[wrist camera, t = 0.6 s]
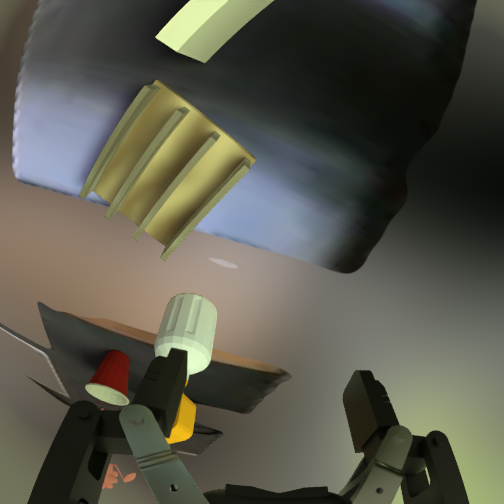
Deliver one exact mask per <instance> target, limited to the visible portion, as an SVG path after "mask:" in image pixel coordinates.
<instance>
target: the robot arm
mask: <svg viewBox="0 0 504 504" xmlns="http://www.w3.org/2000/svg"><path fill="white" fill-rule="evenodd" d="M187 365H188V351H187V350H182V349H178V348H173V347H172V348H171V349H170V351H169V354H168V356H167V357H164V356H158V357H156V358H155V359H154V360H153V361H151V363H150V365H149V367H148V369H147V372H146V374H145V376H144V378H143V380H142V382H141V384H140V386H139V389H138V391H137V393H136V395H135V397H134V399H133V401H132V403H131V404H130V405H128V406H126V407H125V408H123V409H122V410H118V411H109V410H99V409H98V407H97V406H96V405H95V404H94V403H92V402H89V401H78V402H75V403H74V404H72V405H71V407H70V408H69V410H68V412H67V414H66V416H65V418H64V420H63V422H62V424H61V426H60V428H59V430H58V433H57V434H56V436H55V438H54V441H53V443H52V445H51V447H50V449H49V452H48V454H47V456H46V458H45V461H44V463H43V465H42V468H41V470H40V472H39V475H38V477H37V480H36V482H35V485H34V487H33V490H32V493H31V495H30V498H29V501H28V503H27V504H98V500H99V497H100V493H101V490H102V486H103V483H104V480H105V476H106V473H107V470H108V467H109V463H110V460H111V457H112V454H126V455H127V454H128V455H134V457H135V459H136V461H137V464H138V466H139V468H140V470H141V472H142V474H143V476H144V478H145V480H146V482H147V483H148V486H149V487H150V489H151V491H152V493H153V495H154V497H155V499H156V500H157V502H158V504H391V503H392V501H393V499H394V497H395V495H396V492H397V490H398V488H399V486H400V485H401V490H402V495H403V500H404V504H469V500H468V497H467V493H466V490H465V487H464V483H463V481H462V477H461V474H460V471H459V468H458V465H457V462H456V460H455V457H454V454H453V451H452V448H451V446H450V443H449V441H448V438H447V437H446V435H445V434H444V433H442V432H440V431H432V432H430V433H429V434H428V435H427V436H426V437H423V436H415V435H412V434H411V432H410V431H409V430H408V429H407V428H406V427H404V426H401V425H399V422H398V420H397V417H396V414H395V412H394V409H393V407H392V404H391V403H390V399H389V397H388V395H387V392H386V390H385V387H384V386H383V385H382V384H381V383H380V382H379V381H378V380H375V379H374V376H373V374H372V372H371V371H370V370H356V371H355V372H354V373H353V375H352V377H351V379H350V381H349V383H348V385H347V387H346V388H345V390H344V393H343V403H344V407H345V412H346V415H347V420H348V424H349V428H350V432H351V436H352V441H353V445H354V449H355V453H360V452H364V457H363V458H362V460H361V461H360V463H359V465H358V467H357V468H356V470H355V472H354V473H353V475H352V476H351V478H350V480H349V481H348V483H347V484H346V485H345V487H344V488H343V489H342V490H341V491H340V493H339V494H335V493H331V492H328V487H327V486H326V487H308V488H301V489H297V490H292V491H288V492H283V493H275V492H271V491H267V490H263V489H259V488H256V487H252V486H239V485H231V484H226V486H225V489H218V490H212V491H209V492H206V493H203V494H202V492H201V491H200V489H199V488H198V486H197V485H196V483H195V482H194V480H193V479H192V478H191V476H190V474H189V473H188V471H187V470H186V468H185V467H184V465H183V463H182V462H181V460H180V458H179V457H178V455H177V454H176V453H174V452H173V451H172V449H171V448H170V446H169V444H168V442H167V441H166V439H165V438H170V435H171V431H172V428H173V424H174V421H175V418H176V414H177V411H178V408H179V404H180V401H181V398H182V394H183V391H184V388H185V384H186V380H187ZM426 467H427V470H428V474H429V477H430V485H429V482H428V478H427V475H426V471H425V468H426Z"/></svg>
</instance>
